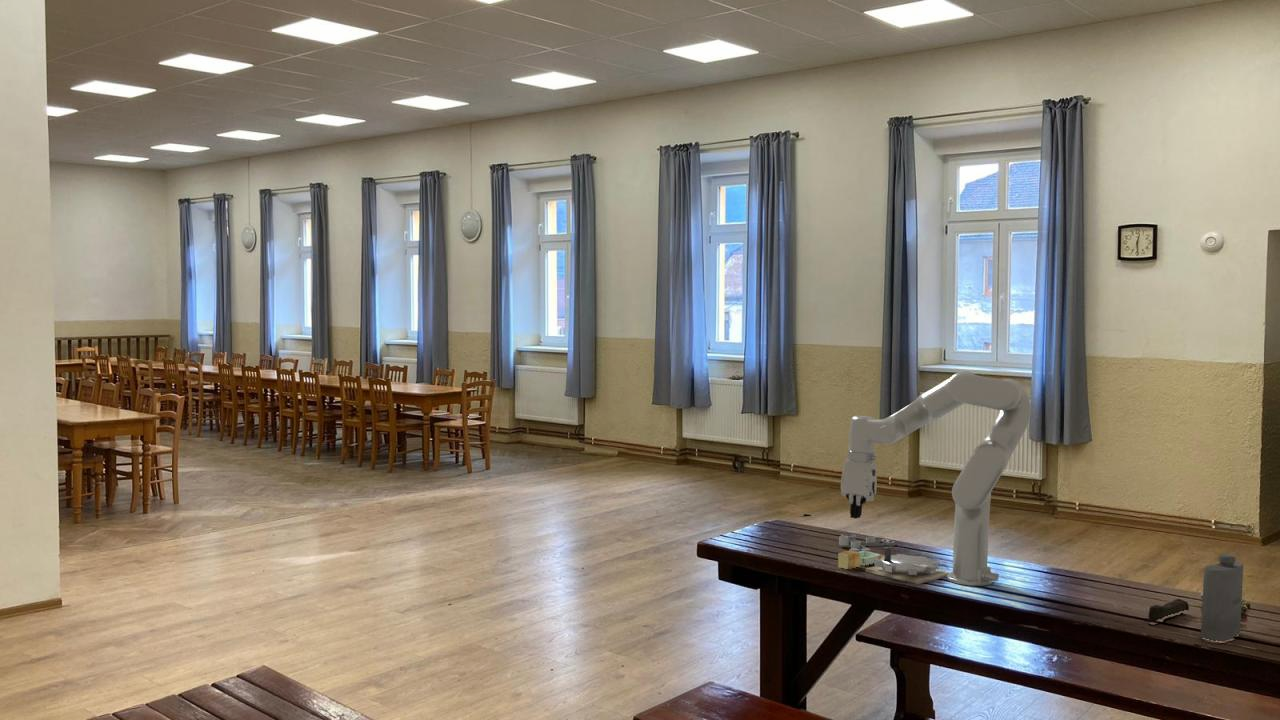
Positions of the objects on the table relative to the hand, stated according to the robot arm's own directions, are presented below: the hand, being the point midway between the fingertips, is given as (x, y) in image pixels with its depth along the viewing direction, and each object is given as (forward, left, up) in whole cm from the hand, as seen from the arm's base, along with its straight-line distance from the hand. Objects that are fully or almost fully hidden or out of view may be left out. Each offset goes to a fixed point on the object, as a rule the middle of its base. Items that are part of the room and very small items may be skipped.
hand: (855, 517), depth 319 cm
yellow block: (+1, +1, -15) cm, 15 cm away
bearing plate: (-14, -6, -15) cm, 22 cm away
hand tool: (-83, -20, -16) cm, 87 cm away
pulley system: (+16, -26, -16) cm, 34 cm away
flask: (-98, -15, -15) cm, 100 cm away
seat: (+3, -8, -15) cm, 18 cm away
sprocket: (-14, -6, -13) cm, 21 cm away
